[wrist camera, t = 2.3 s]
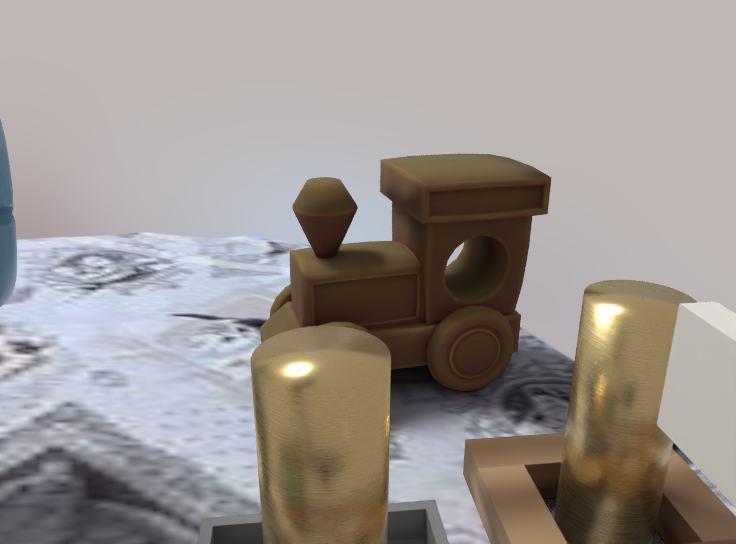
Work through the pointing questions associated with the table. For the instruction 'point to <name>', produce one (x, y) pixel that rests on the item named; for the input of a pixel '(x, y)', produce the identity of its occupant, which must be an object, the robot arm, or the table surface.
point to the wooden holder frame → (540, 480)
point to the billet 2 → (617, 415)
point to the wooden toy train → (422, 264)
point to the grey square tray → (405, 526)
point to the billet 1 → (322, 436)
